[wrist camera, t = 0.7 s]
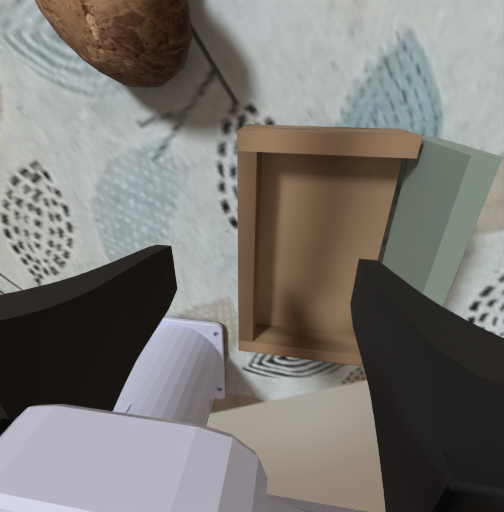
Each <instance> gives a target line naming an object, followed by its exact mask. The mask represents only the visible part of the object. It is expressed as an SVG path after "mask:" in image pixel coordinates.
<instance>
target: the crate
mask: <svg viewBox="0 0 504 512" xmlns="http://www.w3.org/2000/svg"><path fill="white" fill-rule="evenodd" d="M422 137H423V136H421V135H418V134H415V133H412V132H408V131H405V130H402V129H381V128H349V127H316V126H284V125H251V124H248V125H246V126H244V127H242V128H240V129H238V130H237V150H238V313H239V351H246V352H254V353H262V354H270V355H277V356H285V357H293V358H301V359H309V360H317V361H325V362H332V363H340V364H348V365H356V366H361V365H362V359H361V355H360V352H359V348H358V344H357V341H356V337H355V333H354V329H353V324H352V316H351V307H350V302H351V297H352V292H353V287H354V282H355V276H356V271H357V266H358V261H359V259H370V260H377V261H378V257H379V253H380V249H381V245H382V241H383V237H384V232H385V228H386V224H387V220H388V216H389V212H390V208H391V204H392V200H393V196H394V192H395V188H396V184H397V180H398V176H399V172H400V168H401V164H402V160H403V158H414V159H417V156H418V152H419V149H420V145H421V141H422Z"/></svg>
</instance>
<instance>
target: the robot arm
mask: <svg viewBox="0 0 504 512" xmlns="http://www.w3.org/2000/svg"><path fill="white" fill-rule="evenodd" d="M176 291H177V283H176V276H175V269H174V262H173V254H172V247H171V246H167V245H154V246H151V247H148V248H145V249H143V250H140V251H138V252H135V253H133V254H131V255H128V256H126V257H123V258H121V259H119V260H116V261H114V262H112V263H109V264H107V265H104V266H101V267H99V268H96V269H94V270H91V271H89V272H86V273H83V274H80V275H77V276H74V277H71V278H68V279H65V280H61V281H58V282H54V283H51V284H47V285H43V286H39V287H34V288H30V289H26V290H22V291H17V292H13V293H7V294H2V295H0V512H366V511H359V510H354V509H348V508H342V507H337V506H331V505H326V504H320V503H314V502H309V501H302V500H297V499H291V498H286V497H280V496H274V495H269V494H266V486H267V476H266V474H265V472H264V469H263V467H262V464H261V462H260V459H259V457H258V456H257V455H256V453H255V452H254V451H253V450H252V449H250V448H249V447H248V446H246V445H245V444H243V443H242V442H241V441H239V440H238V439H237V438H235V437H234V436H232V435H231V434H229V433H226V432H222V431H219V430H216V429H213V428H209V427H207V426H206V424H207V421H208V417H209V414H210V411H211V408H212V404H213V401H214V398H215V399H224V398H225V368H224V342H223V326H222V325H221V324H219V323H215V322H206V321H197V320H189V319H180V318H172V317H164V316H165V314H166V313H167V311H168V309H169V307H170V305H171V303H172V301H173V298H174V296H175V293H176ZM350 307H351V316H352V324H353V329H354V333H355V337H356V341H357V344H358V348H359V352H360V355H361V359H362V363H363V366H364V370H365V374H366V377H367V381H368V385H369V390H370V395H371V401H372V408H373V414H374V420H375V427H376V434H377V442H378V449H379V456H380V465H381V472H382V481H383V489H384V499H385V509H386V512H504V338H502V337H500V336H498V335H496V334H493V333H491V332H489V331H487V330H485V329H483V328H481V327H479V326H477V325H475V324H473V323H471V322H469V321H467V320H465V319H463V318H462V317H460V316H458V315H456V314H454V313H453V312H451V311H449V310H447V309H446V308H444V307H442V306H441V305H439V304H437V303H436V302H434V301H433V300H431V299H430V298H428V297H427V296H425V295H424V294H422V293H421V292H419V291H418V290H417V289H415V288H414V287H412V286H411V285H410V284H408V283H407V282H406V281H404V280H403V279H402V278H400V277H399V276H398V275H396V274H395V273H394V272H393V271H391V270H390V269H389V268H387V267H386V266H385V265H383V264H382V263H380V262H379V261H377V260H370V259H359V261H358V266H357V271H356V276H355V282H354V287H353V292H352V297H351V302H350ZM215 332H217V333H219V334H217V333H215Z"/></svg>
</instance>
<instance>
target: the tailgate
mask: <svg viewBox="0 0 504 512" xmlns="http://www.w3.org/2000/svg"><path fill="white" fill-rule="evenodd" d="M501 160H502V157H501V156H497V155H494V154H491V153H487V152H484V151H481V150H477V149H474V148H471V147H467V146H464V145H461V144H457V143H454V142H451V141H447V140H444V139H441V138H437V137H426V136H423V137H422V141H421V145H420V149H419V152H418V156H417V159H414V158H409V159H408V163H407V167H406V171H405V175H404V179H403V183H402V187H401V190H400V194H399V198H398V202H397V206H396V210H395V214H394V218H393V222H392V226H391V230H390V233H389V237H388V241H387V245H386V249H385V253H384V257H383V261H382V264H383V265H385V266H386V267H387V268H389V269H390V270H391V271H393V272H394V273H395V274H396V275H398V276H399V277H400V278H402V279H403V280H404V281H406V282H407V283H408V284H410V285H411V286H412V287H414V288H415V289H417V290H418V291H419V292H421V293H422V294H424V295H425V296H427V297H428V298H430V299H431V300H433V301H434V302H436V303H437V304H439V305H441V306H442V307H443V305H444V303H445V300H446V298H447V295H448V293H449V290H450V288H451V285H452V283H453V280H454V278H455V275H456V273H457V270H458V268H459V265H460V263H461V260H462V258H463V255H464V253H465V250H466V248H467V245H468V243H469V240H470V238H471V235H472V233H473V230H474V228H475V225H476V223H477V220H478V218H479V215H480V213H481V210H482V208H483V205H484V203H485V200H486V198H487V195H488V193H489V190H490V187H491V185H492V182H493V180H494V177H495V175H496V172H497V170H498V167H499V165H500V162H501Z"/></svg>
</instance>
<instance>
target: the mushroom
mask: <svg viewBox="0 0 504 512" xmlns="http://www.w3.org/2000/svg"><path fill="white" fill-rule="evenodd" d="M35 2H36V4H37V6H38V8H39V10H40V11H41V12H42V14H43V15H44V16H45V18H46V19H47V20H48V22H49V23H50V24H51V26H52V27H53V28H54V30H55V31H56V32H57V34H58V35H59V37H60V38H61V39H62V40H63V41H64V42H65V43H66V44H68V45H69V46H70V47H71V48H72V49H73V50H74V51H75V52H76V53H77V54H78V55H79V56H80V57H81V58H82V59H83V60H85V61H86V62H87V63H89V64H90V65H91V66H93V67H94V68H95V69H97V70H98V71H99V72H101V73H103V74H105V75H107V76H109V77H110V78H112V79H114V80H116V81H118V82H120V83H122V84H124V85H128V86H134V87H158V86H161V85H164V84H165V83H166V82H167V81H169V80H170V79H171V78H172V77H173V76H174V75H176V74H177V73H178V72H179V71H180V70H182V69H183V68H184V65H185V63H186V59H187V55H188V51H189V47H190V43H191V39H192V33H191V24H190V15H189V5H188V0H35Z"/></svg>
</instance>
